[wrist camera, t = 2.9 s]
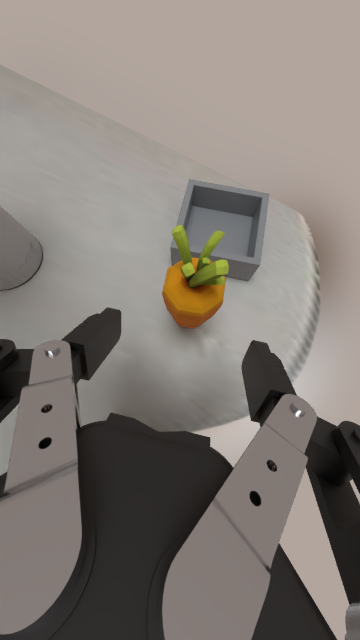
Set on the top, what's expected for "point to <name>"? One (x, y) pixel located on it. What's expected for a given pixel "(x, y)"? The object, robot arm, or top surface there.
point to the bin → (224, 225)
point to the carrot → (194, 282)
